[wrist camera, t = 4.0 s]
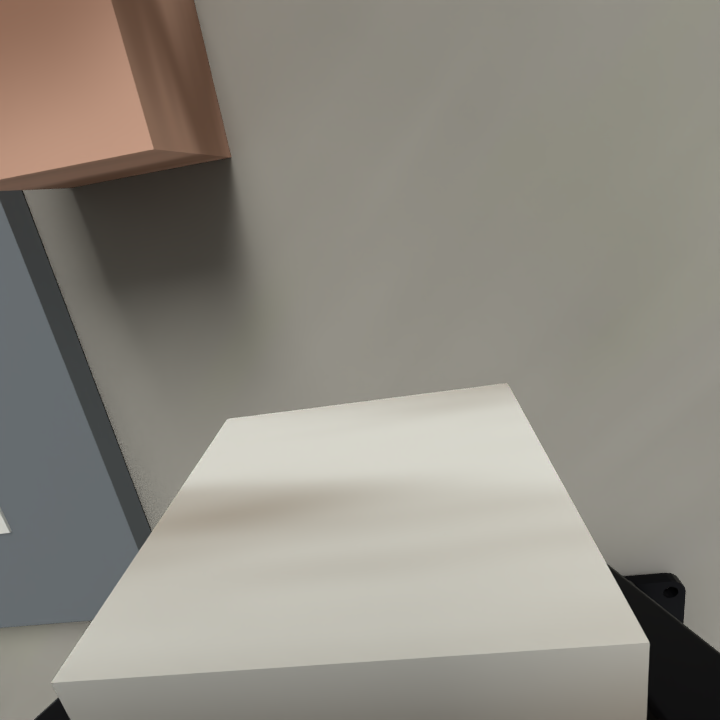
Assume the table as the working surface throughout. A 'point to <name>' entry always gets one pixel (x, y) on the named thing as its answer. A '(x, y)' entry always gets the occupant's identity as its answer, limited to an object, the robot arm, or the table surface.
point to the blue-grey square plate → (54, 450)
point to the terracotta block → (103, 92)
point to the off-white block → (367, 580)
